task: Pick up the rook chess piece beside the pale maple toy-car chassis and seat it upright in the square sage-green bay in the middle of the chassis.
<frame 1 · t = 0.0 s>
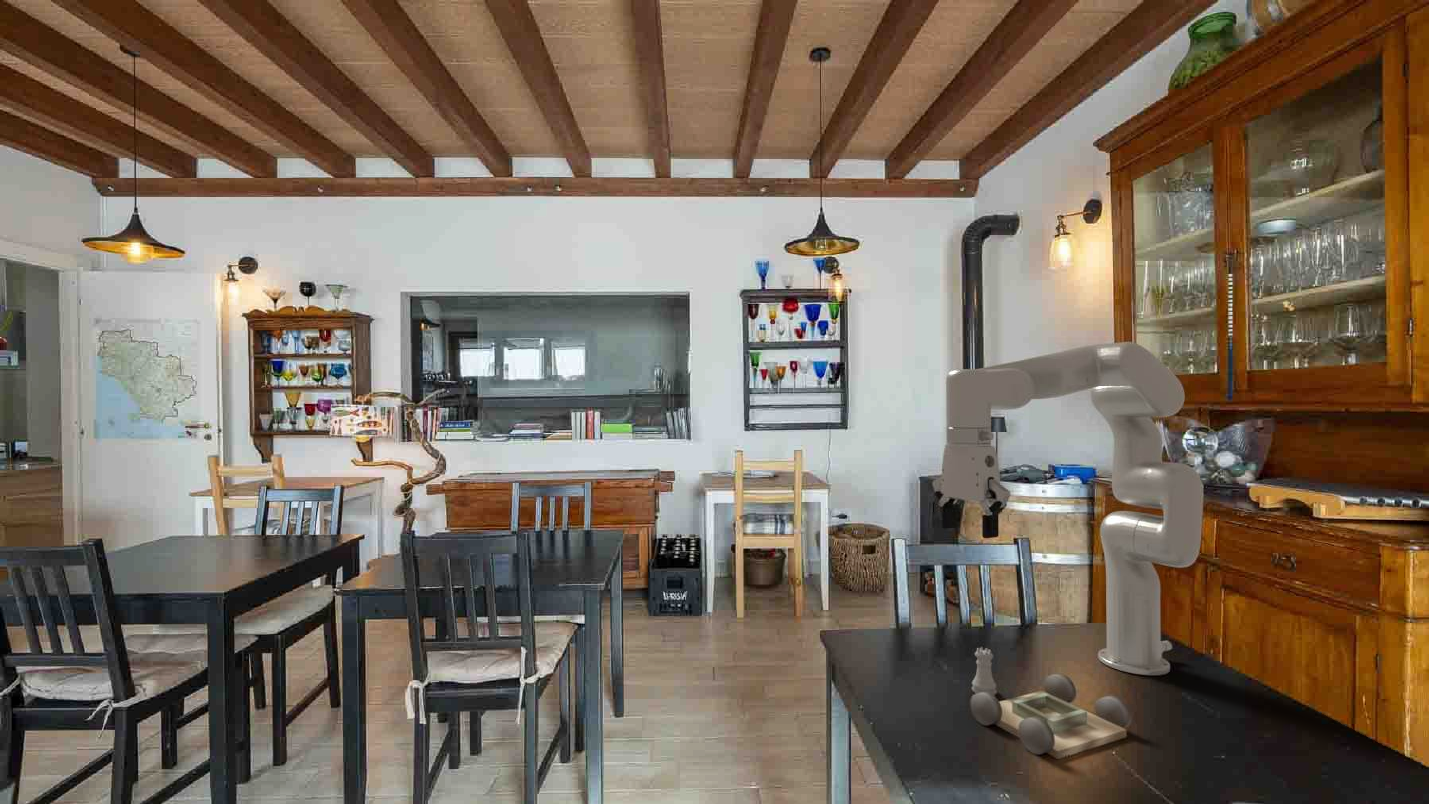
hand: (969, 532, 118), 31 cm above the table, tool pointing down, fingers open, 9 cm apart
car chassis: (1049, 725, 111), on the table
rook chess piece: (984, 693, 124), on the table
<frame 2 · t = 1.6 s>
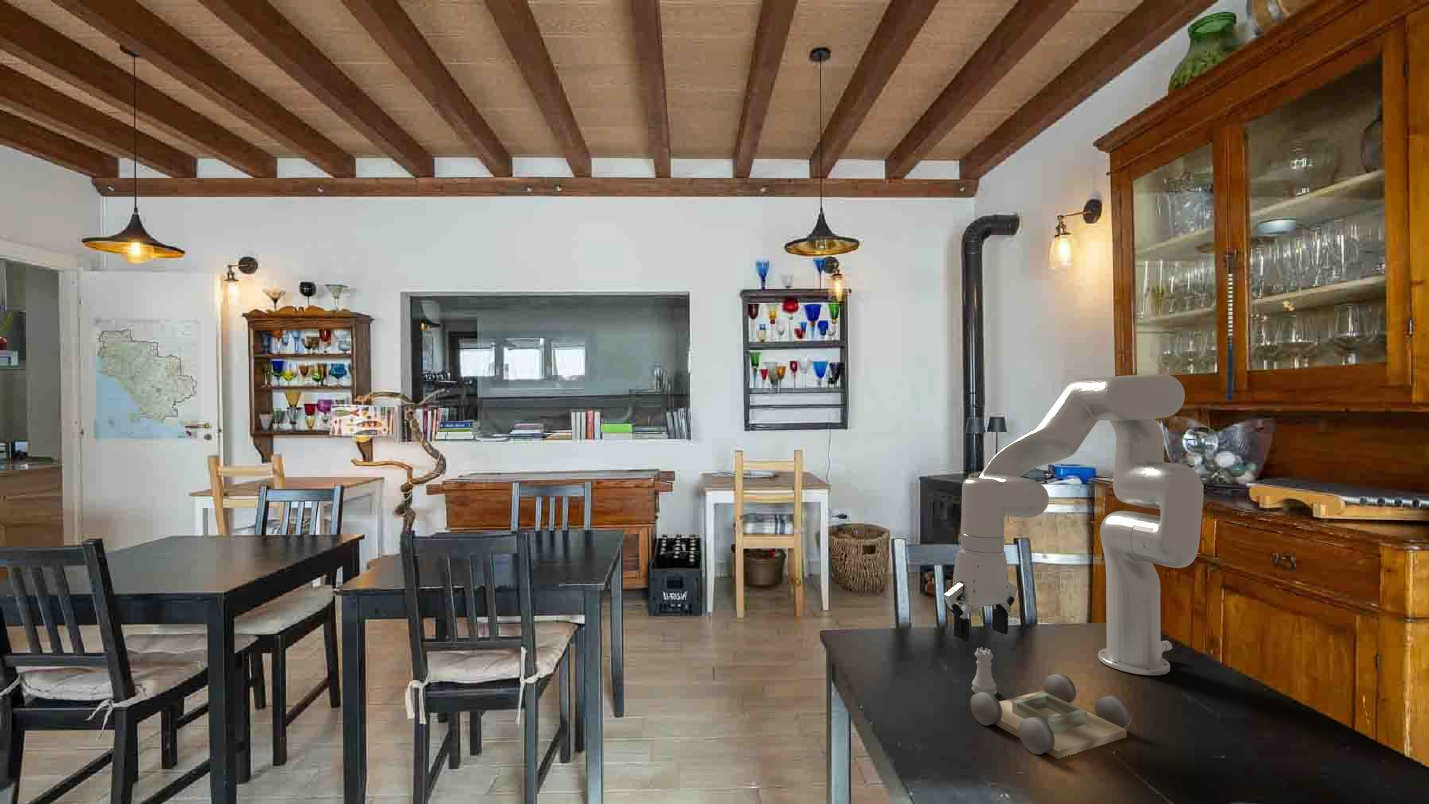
hand: (981, 635, 123), 11 cm above the table, tool pointing down, fingers open, 9 cm apart
nothing on the table moved.
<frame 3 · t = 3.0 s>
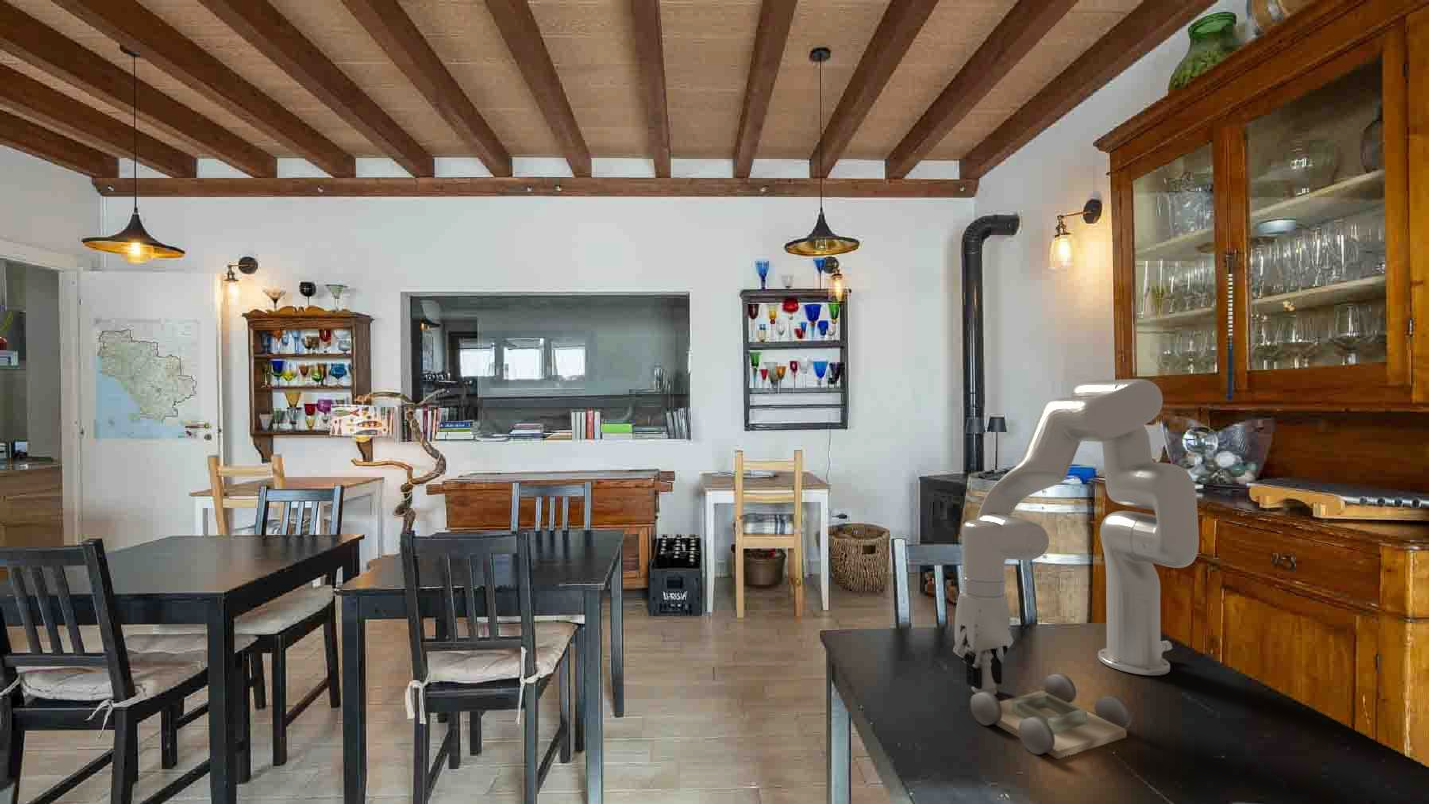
hand: (984, 682, 124), 2 cm above the table, tool pointing down, fingers closed on rook chess piece, 4 cm apart
rook chess piece: (984, 693, 124), on the table, touching gripper
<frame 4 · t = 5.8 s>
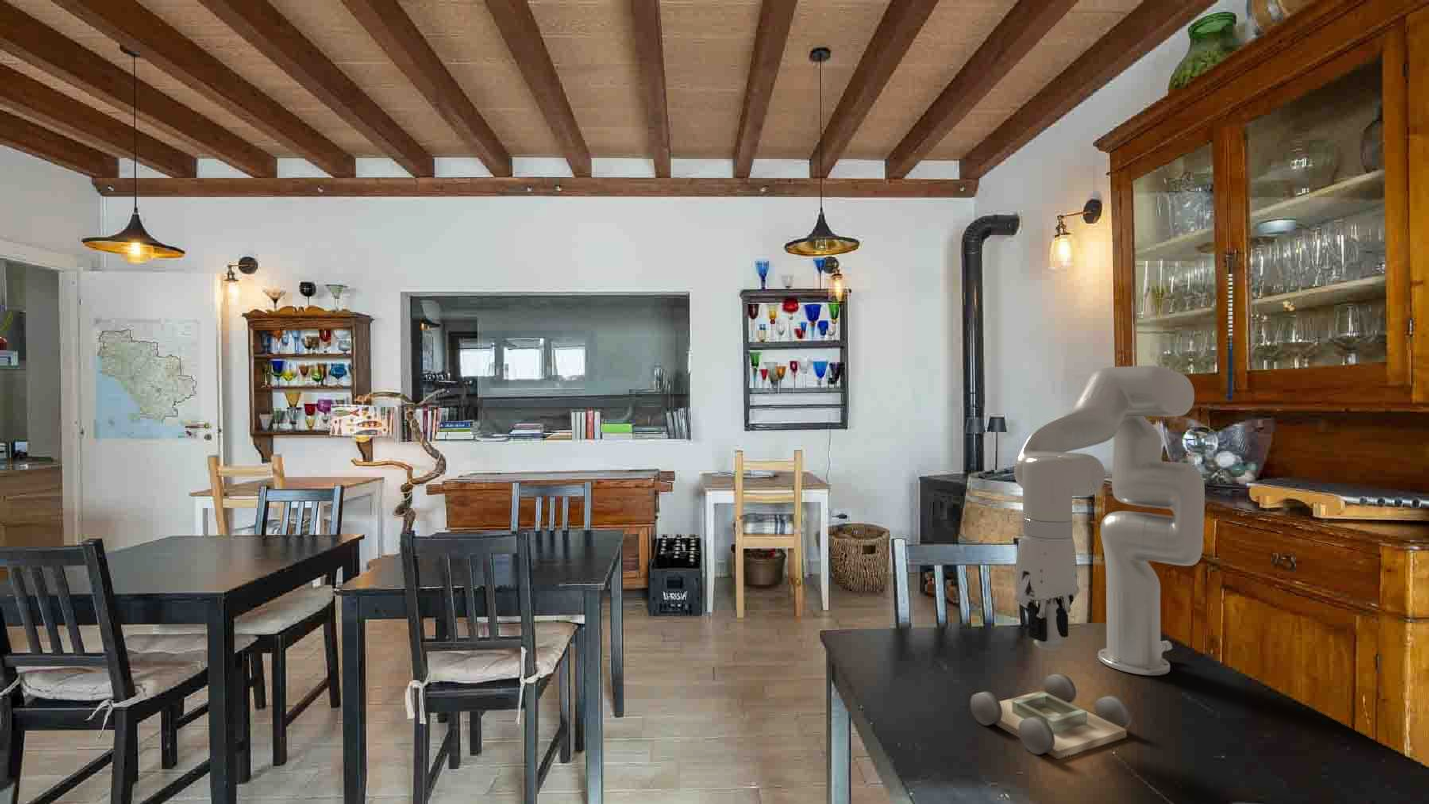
hand: (1048, 635, 111), 15 cm above the table, tool pointing down, fingers closed on rook chess piece, 4 cm apart
rook chess piece: (1048, 647, 111), point 13 cm above the table, touching gripper
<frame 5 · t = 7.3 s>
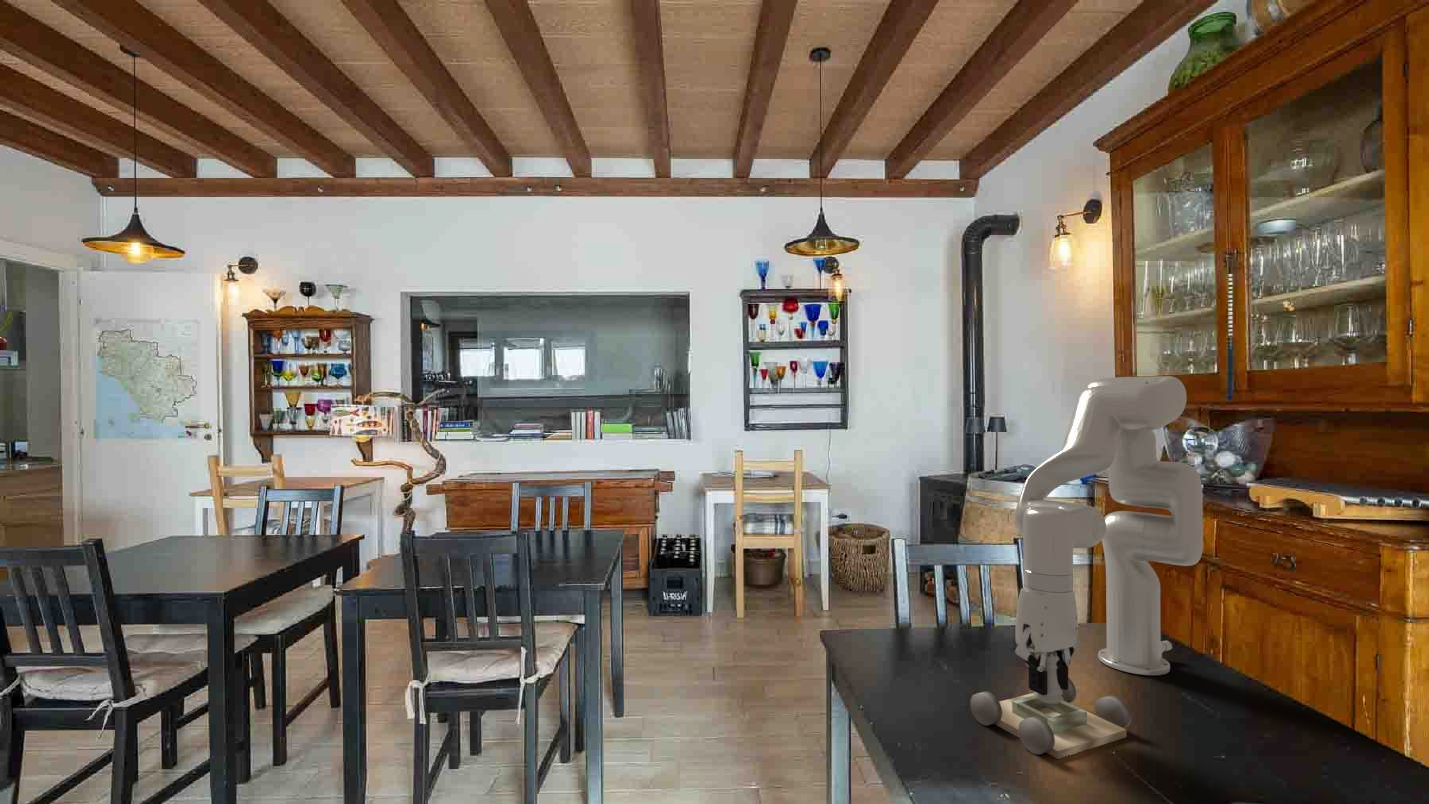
hand: (1048, 688, 111), 6 cm above the table, tool pointing down, fingers closed on rook chess piece, 4 cm apart
rook chess piece: (1048, 699, 111), point 4 cm above the table, touching gripper
when the fingers open (4 cm above the table, at t = 8.6 s): rook chess piece stays where it is, resting on car chassis.
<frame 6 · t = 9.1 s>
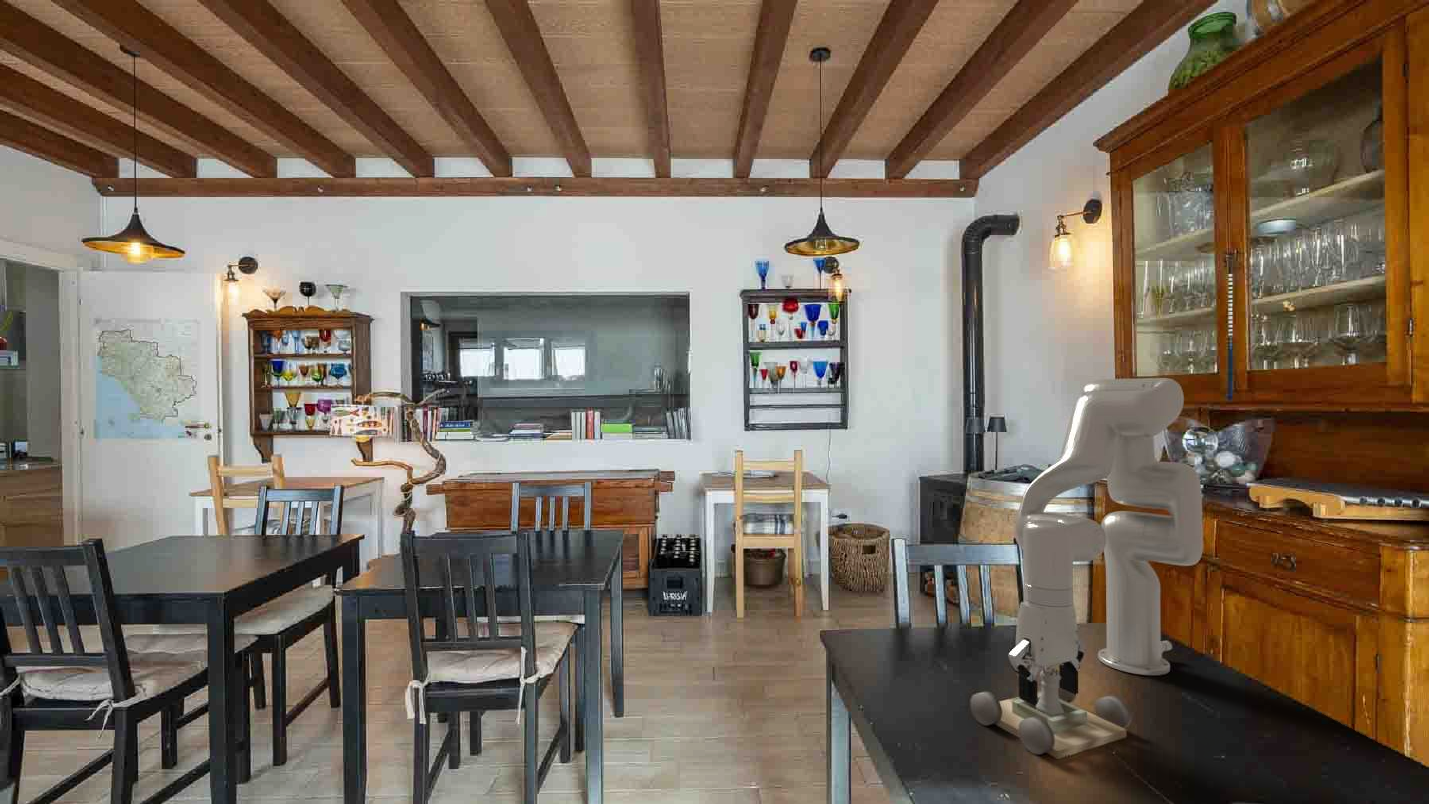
hand: (1048, 696, 111), 5 cm above the table, tool pointing down, fingers open, 9 cm apart
rook chess piece: (1049, 718, 111), point 1 cm above the table, touching car chassis
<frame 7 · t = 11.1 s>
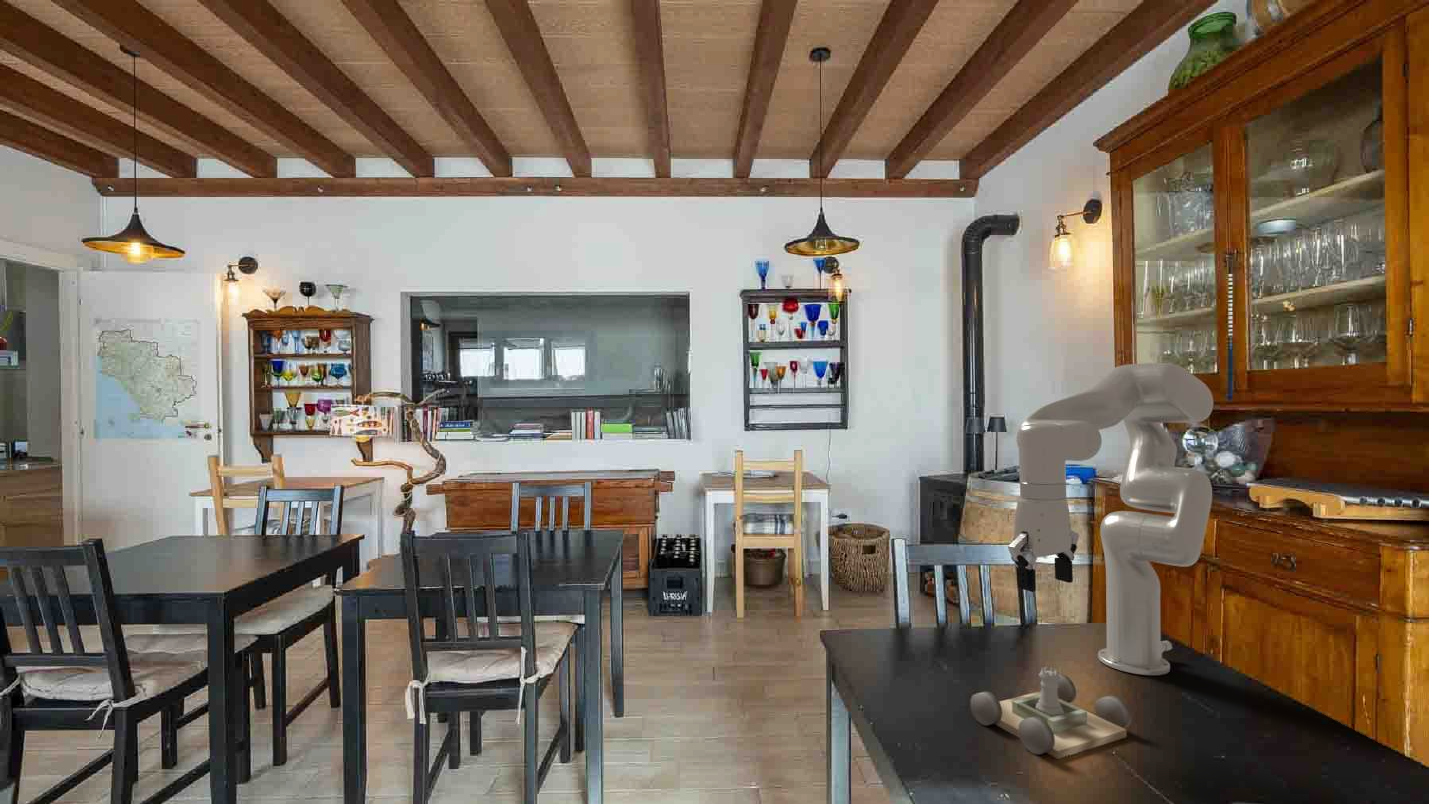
hand: (1045, 585, 119), 21 cm above the table, tool pointing down, fingers open, 9 cm apart
nothing on the table moved.
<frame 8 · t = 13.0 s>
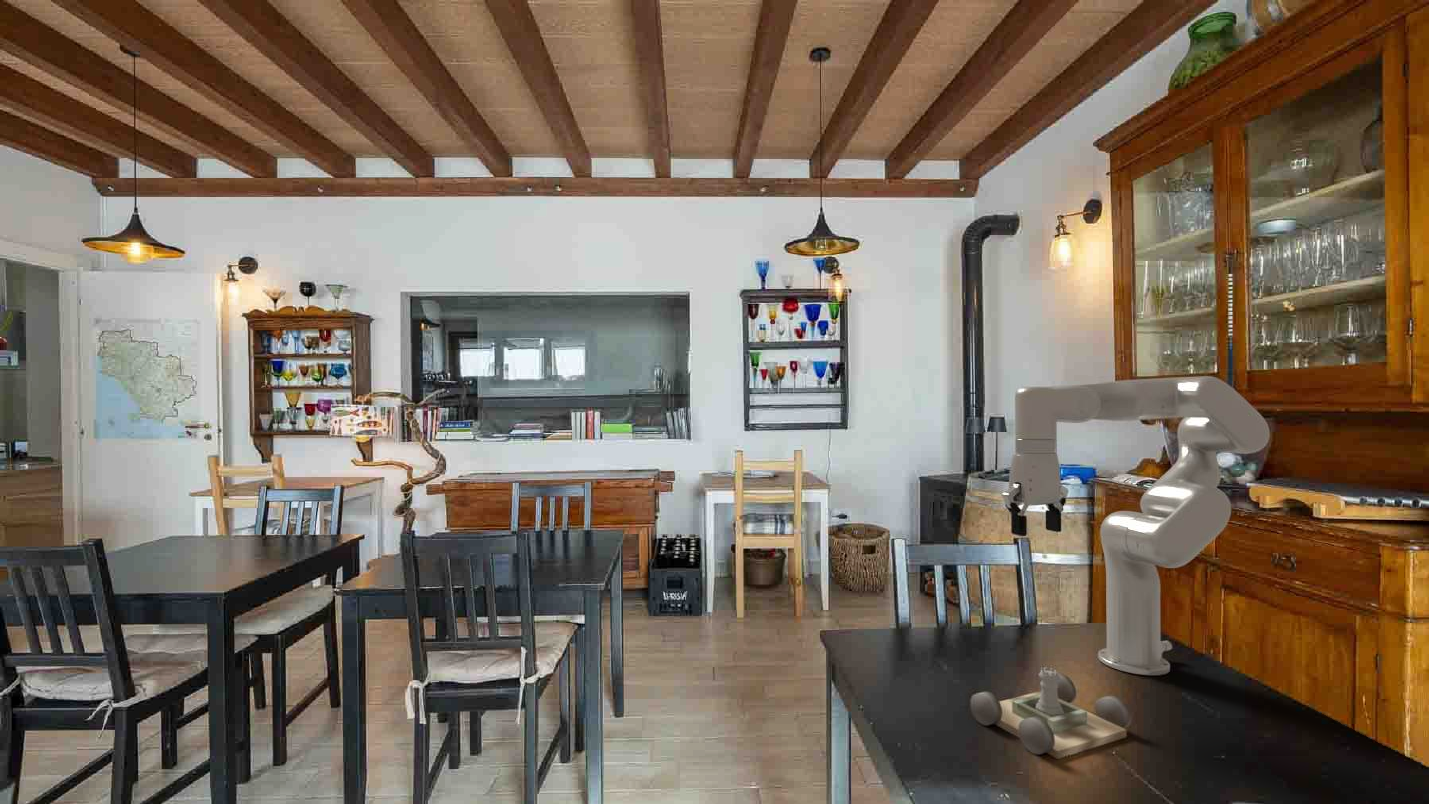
hand: (1036, 532, 132), 28 cm above the table, tool pointing down, fingers open, 9 cm apart
nothing on the table moved.
at the end: rook chess piece 0.2 cm off-centre on the car chassis, point 1.0 cm above the car chassis's base; rook chess piece tilted 0°; the gripper is holding nothing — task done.
